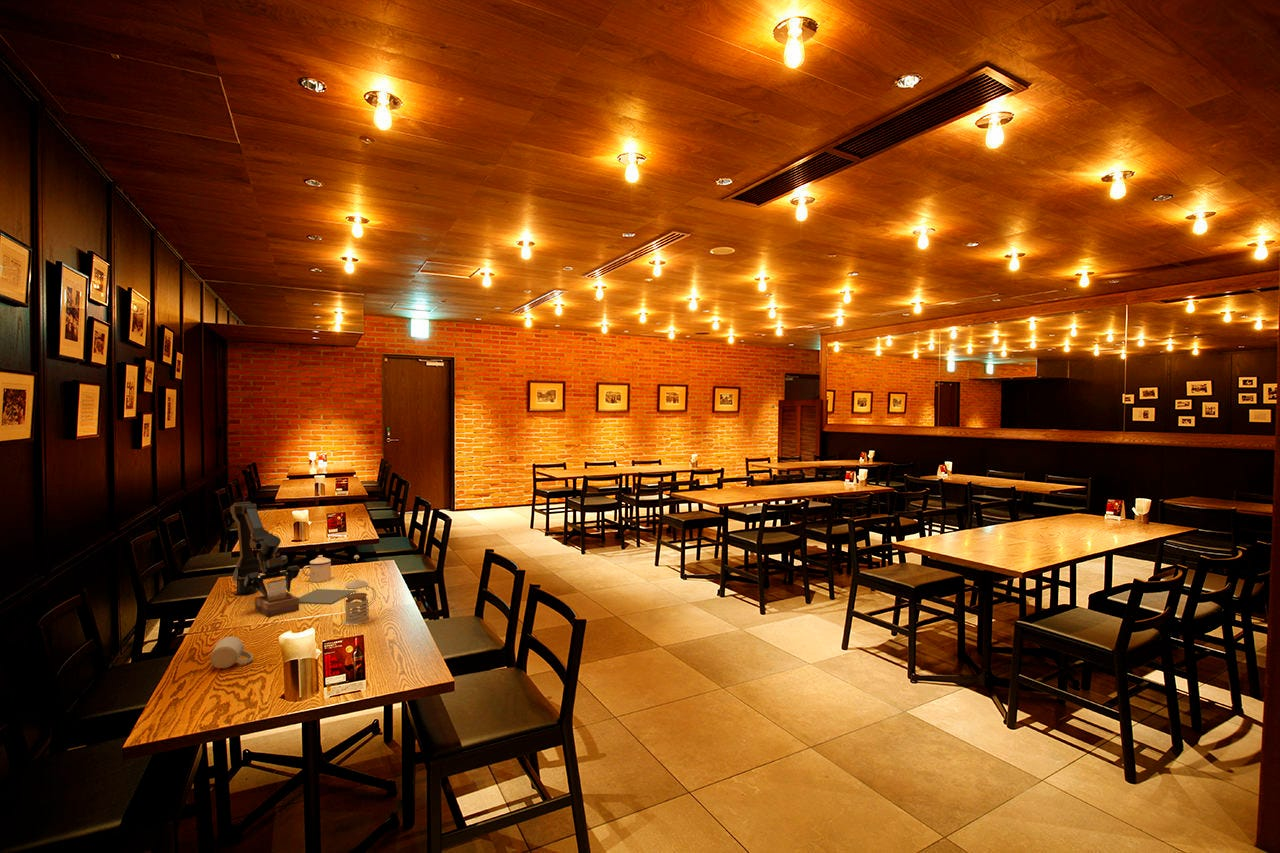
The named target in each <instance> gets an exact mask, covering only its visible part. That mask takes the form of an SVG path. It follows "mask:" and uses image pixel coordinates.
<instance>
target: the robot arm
mask: <svg viewBox="0 0 1280 853" xmlns="http://www.w3.org/2000/svg"><path fill="white" fill-rule="evenodd" d="M229 512H230V514H231V517H232V519H233V520H234V521H235V523H236V524H237V533H238V534H237V536H238V547H239V548H238V549H239V558H238V560H237V561H236V563H235V565H236V567H235V569H234V571H233V573H232V579H233V581H235V582H236V592H234V593H233V595H234V594H235V596H238V595H239V596H249V595H251V594H254V593H256V592H258V591H259V593H261V594H262V596H264V595H265V596H266V597H267V596H268V589H266V586H265V583H264V580H270V579H271V580H272V579H276V578H280V577H284V579H285V580H286V592H288V593H290V591H291V583H292V580H293V579H296V578H297V577H298V576H299V573H300V571H301V568H300V566H299V565H297V564H296V565H293V566H286V570H283V571H281V570H282V566H283V565H285V564H287V563H288V562H289V561H288V556H287V555H286V554H284V555H281V556H279V557H276V556H275V555H276V554H275V553H277V551H278V550H279V547H280V544H281V541H282V540H281V538H280V537H279V536H277V535H275V534H273V532H271V533H270V532H269V531H268V530H266V529H265V527H264V526H263V523H262V520H261V517H260V515H259V513H258V506H257V504H256V503H252V502H251V501H241V502H234V503H233V504H232V505H230V510H229ZM253 551H258V552H257V553H256V557H255V556H254V555H253ZM260 571H261V572H262V574H260V573H261V572H260Z"/></svg>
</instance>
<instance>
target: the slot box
mask: <svg viewBox="0 0 1280 853" xmlns="http://www.w3.org/2000/svg"><path fill="white" fill-rule="evenodd" d="M254 608H255V609H254V610H255V611H256V610H257V611H256V612H258V613H260V614H261V615H263V616H265V617H266V618H273V617H276V616H281V615H284V614H289V613H290V614H291V613H294V612H298V611H300V603H299V597H297V596H296V595H294V594H292V593H290V592H288V591H286V597H282V598H277V599H273V600H268V596H267V597H266V596H265V595H260V596H255V597H254Z"/></svg>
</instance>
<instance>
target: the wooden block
mask: <svg viewBox="0 0 1280 853" xmlns="http://www.w3.org/2000/svg"><path fill="white" fill-rule="evenodd" d="M266 586H267V594H268V600H273V599H277V598H282V597H286V592H287V589H286V580H285V578H282V579H277V580H271V581H267V583H266Z"/></svg>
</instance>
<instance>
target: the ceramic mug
mask: <svg viewBox="0 0 1280 853" xmlns="http://www.w3.org/2000/svg"><path fill="white" fill-rule="evenodd" d="M244 646H245V645H244V643H243V641H242V640H241V639H240V638H238V637H236V636H226V637H222V638H221V639H220V640H218V641H217V643H216V645H215V647H214V648H213V650H212V652H211V654H210V663H211V665H212V666H213V667H214V668H216V669H218V670H219V669H220V668H225V669H229V668H231V667H232V666H233V665H235V664H241V665H247V663H248V664H250V663H251V662H252V660H253V658H254V655H253V654H252V653H251V652H249V651H246V650H244ZM241 656H242V657H245V658H246V659H245V658H241ZM249 662H250V663H249ZM220 670H221V669H220Z"/></svg>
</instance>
